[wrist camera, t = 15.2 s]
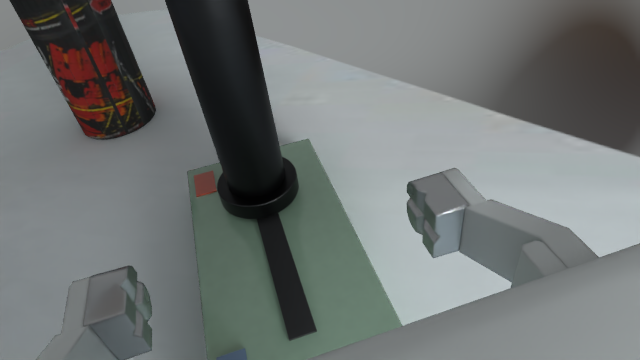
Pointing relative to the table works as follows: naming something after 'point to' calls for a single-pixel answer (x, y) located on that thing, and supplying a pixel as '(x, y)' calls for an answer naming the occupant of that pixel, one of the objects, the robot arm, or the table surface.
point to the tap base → (284, 271)
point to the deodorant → (90, 63)
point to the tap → (235, 105)
